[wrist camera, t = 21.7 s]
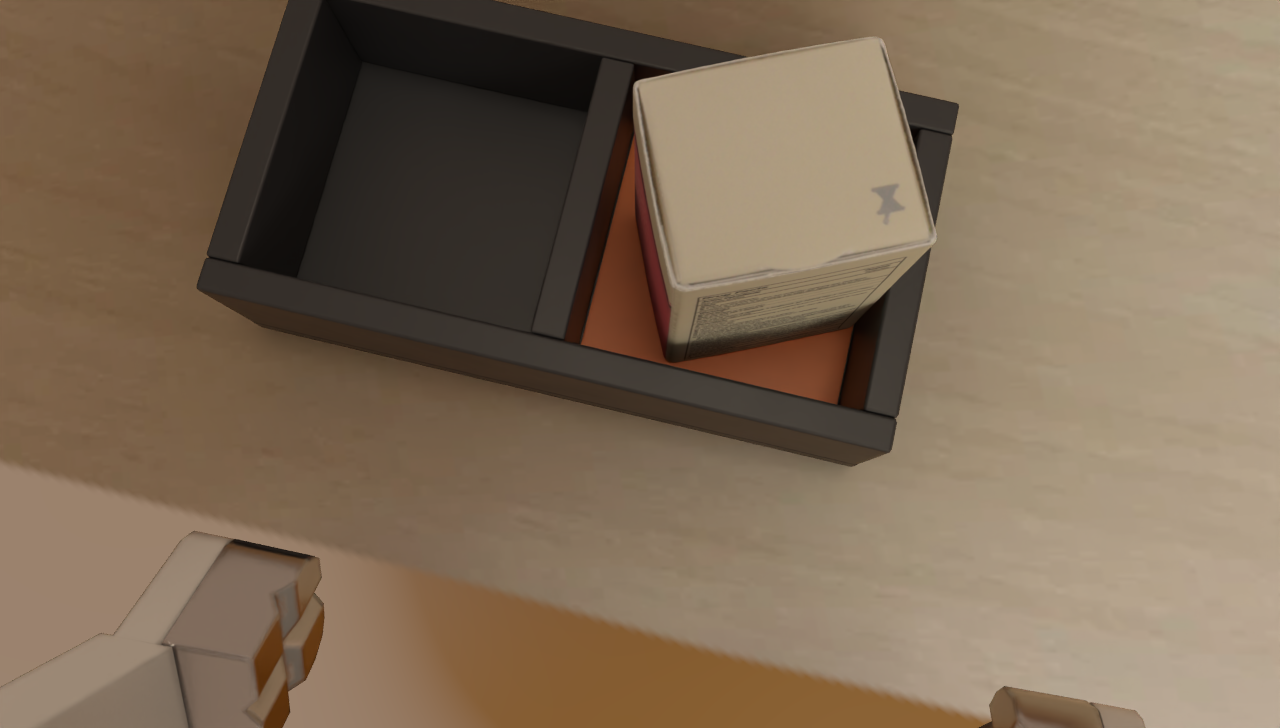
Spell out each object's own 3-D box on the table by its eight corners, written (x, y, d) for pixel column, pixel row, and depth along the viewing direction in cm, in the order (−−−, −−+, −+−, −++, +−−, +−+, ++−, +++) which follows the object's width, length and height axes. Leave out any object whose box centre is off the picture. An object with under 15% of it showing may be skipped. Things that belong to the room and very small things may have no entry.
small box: (817, 174, 27) (890, 24, 19) (854, 331, 26) (946, 241, 18) (629, 210, 27) (625, 72, 19) (661, 369, 26) (671, 293, 18)
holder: (853, 467, 26) (892, 453, 22) (260, 326, 27) (193, 288, 23) (913, 166, 28) (960, 102, 24) (349, 40, 28) (301, -44, 24)
